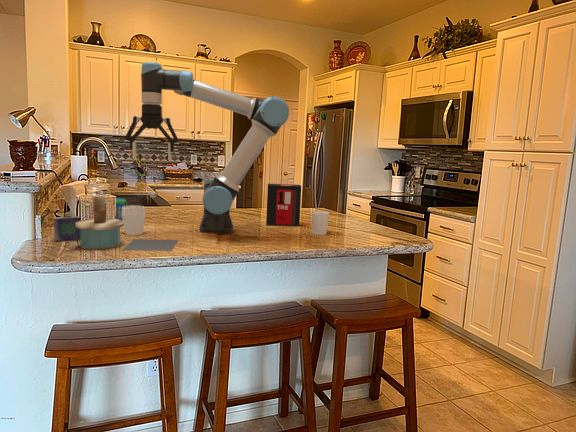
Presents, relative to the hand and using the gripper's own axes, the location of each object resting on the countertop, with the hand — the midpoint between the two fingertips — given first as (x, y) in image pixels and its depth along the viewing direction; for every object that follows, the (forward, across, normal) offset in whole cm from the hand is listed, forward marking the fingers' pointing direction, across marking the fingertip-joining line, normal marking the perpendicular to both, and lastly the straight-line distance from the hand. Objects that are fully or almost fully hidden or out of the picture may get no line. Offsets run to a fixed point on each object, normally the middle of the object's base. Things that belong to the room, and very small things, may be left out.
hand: (152, 159), depth 169 cm
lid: (+24, +15, +18) cm, 33 cm away
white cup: (+32, -72, -14) cm, 80 cm away
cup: (+32, +8, -2) cm, 33 cm away
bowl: (+32, +15, +18) cm, 39 cm away
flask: (+32, +30, +8) cm, 45 cm away
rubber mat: (+32, -3, +17) cm, 36 cm away
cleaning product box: (+32, -57, -35) cm, 74 cm away
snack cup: (+32, +25, -35) cm, 54 cm away
